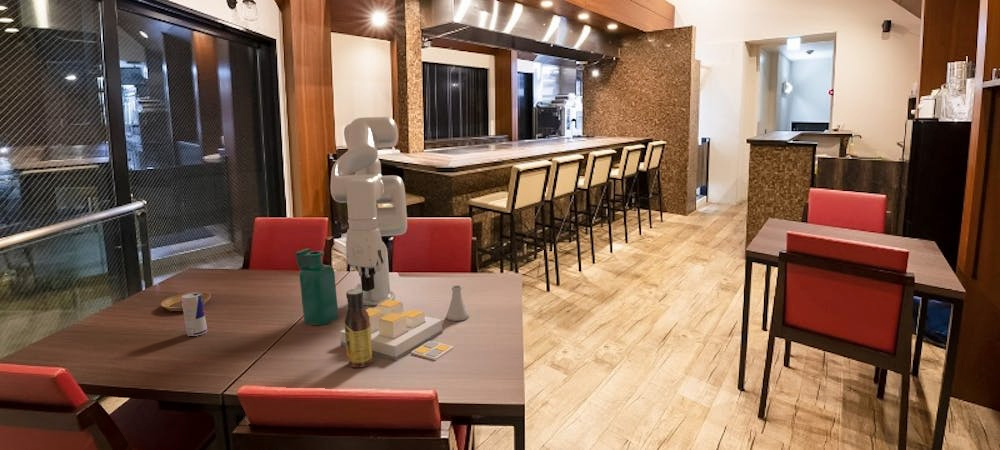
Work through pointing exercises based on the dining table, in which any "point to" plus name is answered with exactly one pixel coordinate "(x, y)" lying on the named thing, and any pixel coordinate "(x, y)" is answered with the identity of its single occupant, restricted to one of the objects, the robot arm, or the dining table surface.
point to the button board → (403, 339)
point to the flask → (457, 306)
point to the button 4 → (414, 318)
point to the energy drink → (194, 314)
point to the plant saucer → (178, 298)
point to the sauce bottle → (357, 330)
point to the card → (432, 350)
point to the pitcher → (317, 288)
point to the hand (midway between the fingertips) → (368, 289)
